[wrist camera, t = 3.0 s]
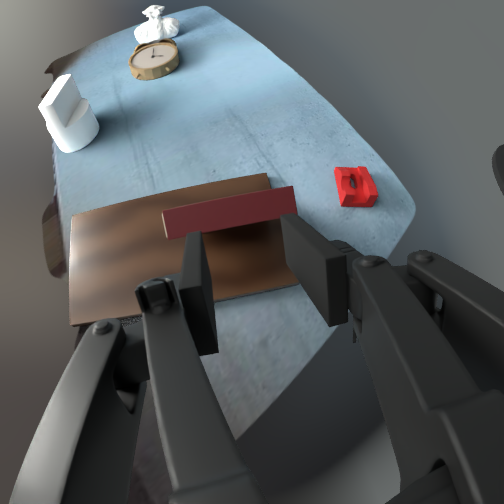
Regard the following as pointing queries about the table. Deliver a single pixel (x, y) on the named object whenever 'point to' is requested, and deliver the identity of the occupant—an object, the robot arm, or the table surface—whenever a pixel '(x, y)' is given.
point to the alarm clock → (154, 59)
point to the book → (229, 212)
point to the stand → (168, 252)
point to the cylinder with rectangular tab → (68, 115)
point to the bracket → (363, 189)
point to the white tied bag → (156, 26)
